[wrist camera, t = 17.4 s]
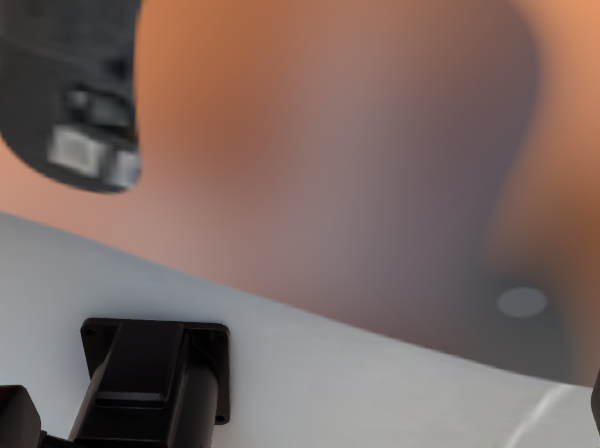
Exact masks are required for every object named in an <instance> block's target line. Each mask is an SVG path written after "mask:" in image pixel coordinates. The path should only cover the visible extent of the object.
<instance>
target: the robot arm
mask: <svg viewBox="0 0 600 448" xmlns="http://www.w3.org/2000/svg"><path fill="white" fill-rule="evenodd" d="M91 328H93V329H95V330H92V329H91ZM80 332H81V337H82V342H83V347H84V351H85V356H86V361H87V366H88V370H89V375H90V380H91V382H90V385H89V387H88V390H87V392H86V395H85V397H84V400H83V402H82V405H81V407H80V410H79V412H78V415H77V417H76V420H75V422H74V425H73V427H72V430H71V433H70V435H69V438H68V440H65V439H61V438H58V437H54V436H51V435H47V432H46V431H43V430H41V420H40V416H39V414H38V412H37V410H36V408H35V406H34V404H33V402H32V400H31V397H30V395H29V393H28V391H27V390H26V388H25V387H23V386H22V385H1V386H0V448H211V441H212V435H213V428H214V425H224V424H227V423H228V422H229V420H230V413H231V405H230V345H229V329H228V328H227V327H226V326H225V325H223V324H219V323H199V322H177V321H155V320H132V319H110V318H88V319H86V320H85V321H84V323H83V325H82V327H81V331H80ZM215 334H220V336H217V335H215ZM591 409H592V413H593V416H594V419H595V422H596V426H597V429H598V432H599V435H600V369H599V373H598V376H597V379H596V382H595V386H594V388H593V392H592V395H591Z"/></svg>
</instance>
